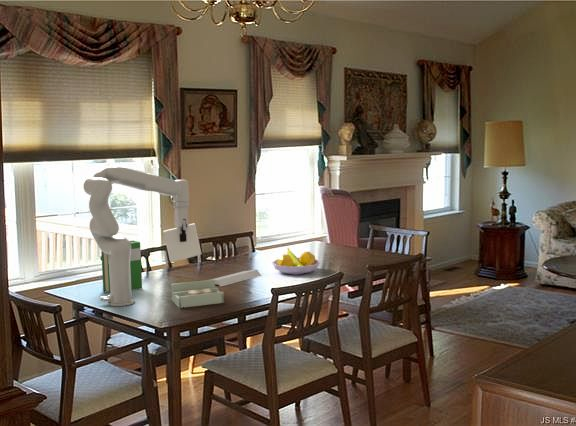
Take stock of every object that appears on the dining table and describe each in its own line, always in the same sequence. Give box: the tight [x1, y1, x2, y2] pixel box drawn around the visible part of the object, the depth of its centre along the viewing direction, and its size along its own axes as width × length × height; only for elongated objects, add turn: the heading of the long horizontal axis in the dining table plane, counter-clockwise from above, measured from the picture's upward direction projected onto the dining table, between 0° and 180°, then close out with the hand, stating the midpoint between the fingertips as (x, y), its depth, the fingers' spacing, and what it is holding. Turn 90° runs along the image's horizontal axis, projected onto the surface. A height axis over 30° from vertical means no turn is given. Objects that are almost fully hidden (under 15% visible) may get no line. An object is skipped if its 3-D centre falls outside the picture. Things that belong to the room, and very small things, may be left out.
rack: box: [170, 278, 225, 309], centre depth 313 cm, size 21×15×8 cm
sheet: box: [162, 222, 202, 263], centre depth 333 cm, size 16×2×16 cm, turn 112°
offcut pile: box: [186, 288, 212, 296], centre depth 311 cm, size 12×6×6 cm, turn 113°
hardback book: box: [100, 240, 143, 294], centre depth 338 cm, size 18×7×24 cm, turn 129°
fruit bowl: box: [271, 247, 321, 276], centre depth 376 cm, size 28×27×11 cm
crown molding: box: [210, 269, 262, 287], centre depth 359 cm, size 31×12×4 cm, turn 141°
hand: (182, 241), depth 333 cm, fingers closed on sheet, 2 cm apart
